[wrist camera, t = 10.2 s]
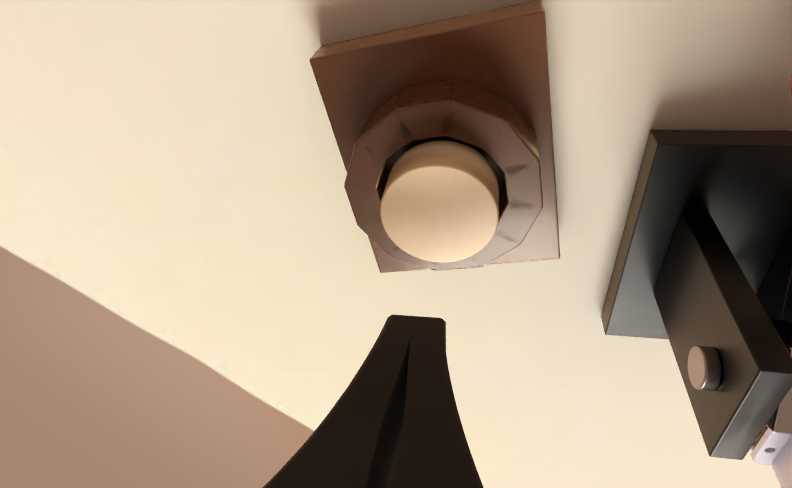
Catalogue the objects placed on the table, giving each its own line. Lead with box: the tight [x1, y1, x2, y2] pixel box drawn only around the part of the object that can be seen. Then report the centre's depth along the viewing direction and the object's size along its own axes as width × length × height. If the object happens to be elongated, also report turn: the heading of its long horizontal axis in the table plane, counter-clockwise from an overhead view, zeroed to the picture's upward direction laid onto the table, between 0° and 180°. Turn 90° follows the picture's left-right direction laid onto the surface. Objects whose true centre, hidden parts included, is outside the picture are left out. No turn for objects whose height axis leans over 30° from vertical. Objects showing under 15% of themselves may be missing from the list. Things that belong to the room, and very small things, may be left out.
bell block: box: [310, 0, 560, 273], centre depth 19 cm, size 10×8×4 cm
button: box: [380, 140, 499, 262], centre depth 18 cm, size 4×4×2 cm
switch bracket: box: [601, 130, 792, 460], centre depth 18 cm, size 10×8×9 cm
